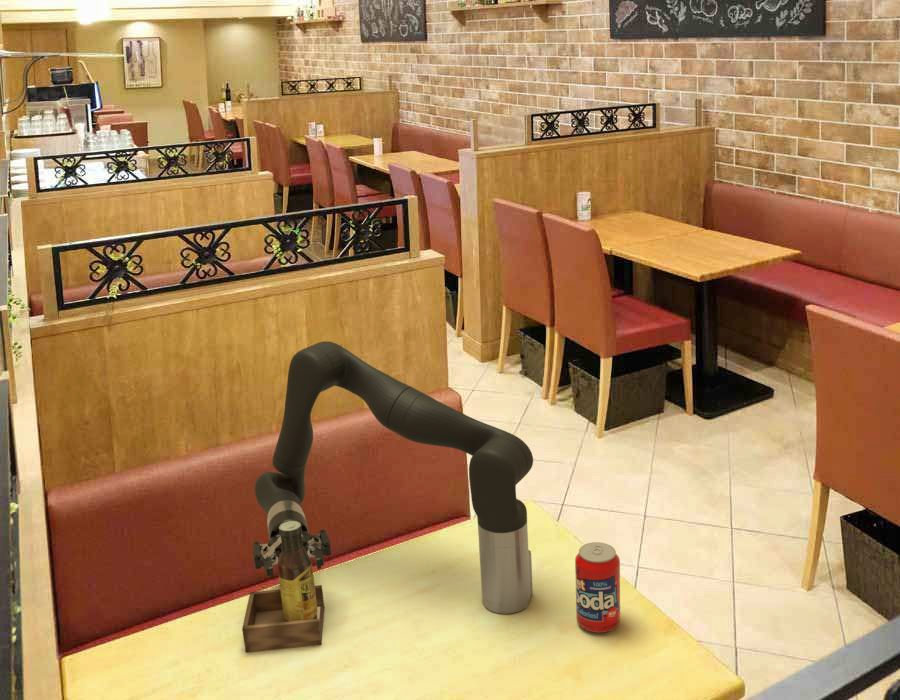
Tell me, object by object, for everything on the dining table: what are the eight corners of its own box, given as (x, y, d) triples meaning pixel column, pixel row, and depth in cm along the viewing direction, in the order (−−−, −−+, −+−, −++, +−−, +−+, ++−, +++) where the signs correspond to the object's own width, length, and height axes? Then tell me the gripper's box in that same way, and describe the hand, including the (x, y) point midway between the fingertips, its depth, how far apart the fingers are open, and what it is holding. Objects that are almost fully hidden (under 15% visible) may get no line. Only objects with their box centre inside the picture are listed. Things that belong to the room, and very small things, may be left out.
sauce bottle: (312, 633, 168) (299, 536, 162) (279, 631, 170) (266, 535, 164) (323, 612, 174) (311, 518, 168) (292, 610, 176) (279, 517, 170)
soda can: (623, 613, 170) (623, 542, 165) (616, 639, 163) (615, 565, 158) (581, 607, 173) (579, 537, 168) (572, 632, 166) (570, 560, 161)
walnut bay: (324, 607, 178) (321, 585, 176) (321, 644, 167) (318, 621, 165) (253, 614, 177) (250, 592, 175) (245, 652, 166) (242, 628, 165)
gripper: (248, 516, 178) (252, 558, 164) (321, 503, 182) (332, 543, 167) (253, 549, 181) (258, 594, 166) (325, 536, 184) (336, 579, 169)
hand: (295, 569), depth 166 cm, fingers open, 8 cm apart
